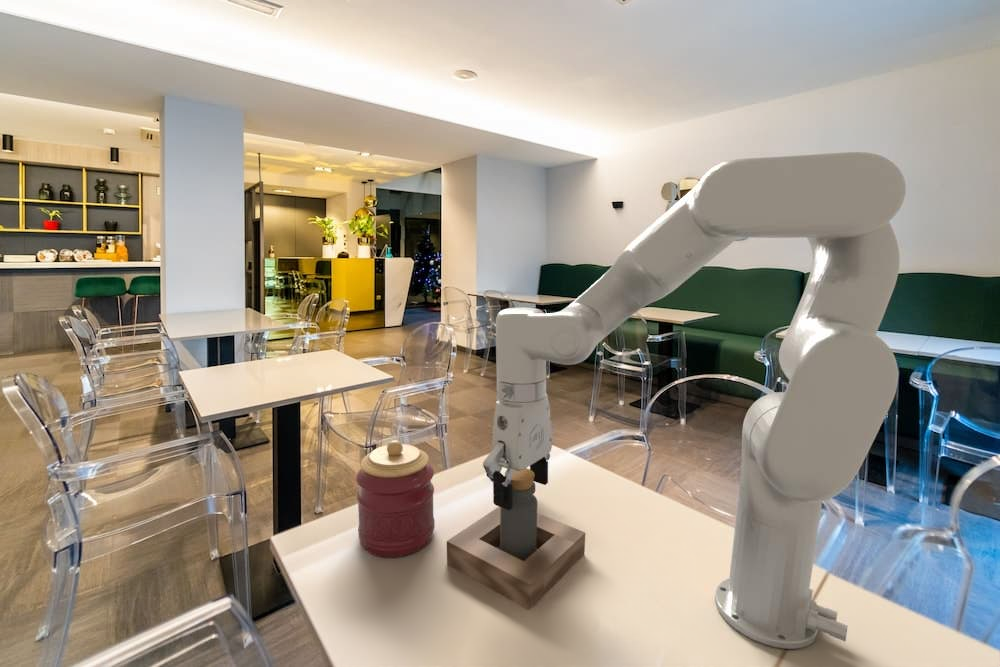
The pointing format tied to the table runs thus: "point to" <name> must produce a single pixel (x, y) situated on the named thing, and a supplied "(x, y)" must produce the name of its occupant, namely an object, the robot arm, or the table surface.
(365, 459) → the canister
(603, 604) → the table surface
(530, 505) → the bottle
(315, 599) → the table surface
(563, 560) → the collar block
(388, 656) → the table surface
